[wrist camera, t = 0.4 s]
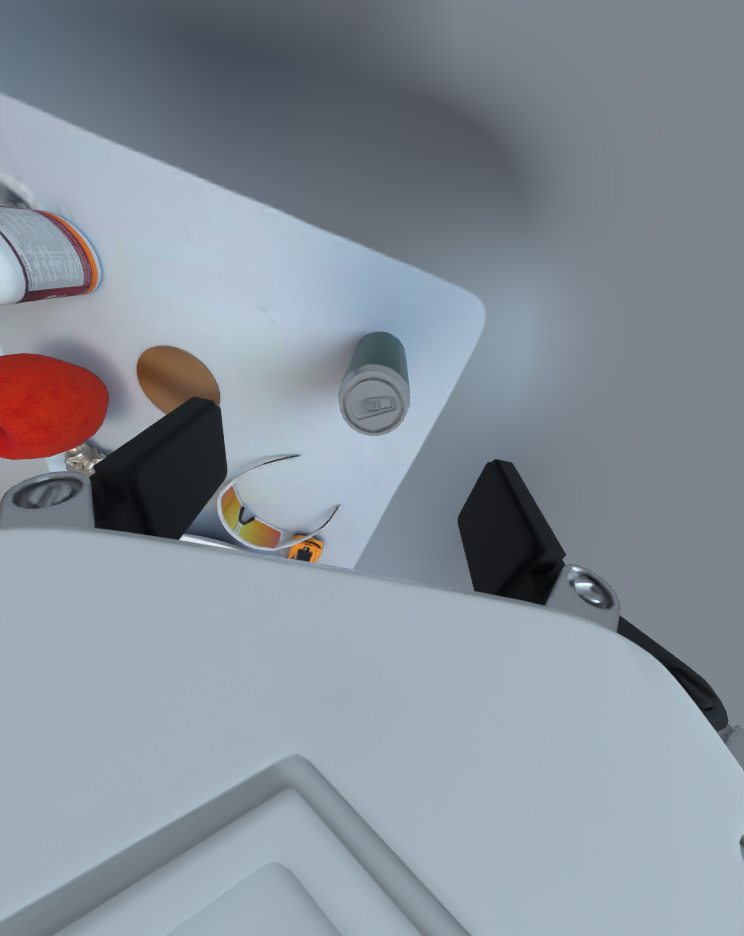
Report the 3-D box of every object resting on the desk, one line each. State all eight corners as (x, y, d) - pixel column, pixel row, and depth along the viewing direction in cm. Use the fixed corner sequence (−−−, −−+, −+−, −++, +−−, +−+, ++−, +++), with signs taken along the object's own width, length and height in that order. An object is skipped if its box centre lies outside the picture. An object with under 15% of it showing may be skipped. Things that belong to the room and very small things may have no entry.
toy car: (281, 568, 54) (275, 584, 52) (294, 527, 47) (288, 544, 45) (311, 576, 55) (307, 592, 53) (328, 537, 48) (324, 554, 46)
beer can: (402, 325, 29) (406, 362, 19) (408, 378, 32) (414, 434, 22) (349, 335, 30) (327, 375, 20) (360, 386, 33) (345, 442, 23)
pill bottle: (49, 286, 29) (-112, 301, 20) (15, 202, 25) (-202, 174, 16) (114, 299, 29) (-14, 321, 20) (90, 219, 25) (-80, 202, 16)
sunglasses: (209, 481, 42) (193, 503, 38) (295, 435, 39) (289, 453, 35) (271, 540, 50) (264, 564, 45) (348, 505, 47) (348, 527, 42)
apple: (62, 318, 30) (-96, 349, 21) (149, 394, 35) (53, 449, 25) (25, 371, 34) (-123, 418, 24) (108, 433, 39) (11, 495, 29)
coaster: (129, 337, 31) (126, 338, 31) (214, 355, 32) (213, 356, 31) (150, 413, 36) (148, 414, 36) (224, 427, 37) (222, 429, 37)
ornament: (144, 480, 43) (126, 496, 40) (105, 485, 44) (85, 501, 41) (106, 433, 39) (82, 447, 36) (64, 440, 40) (37, 455, 37)
